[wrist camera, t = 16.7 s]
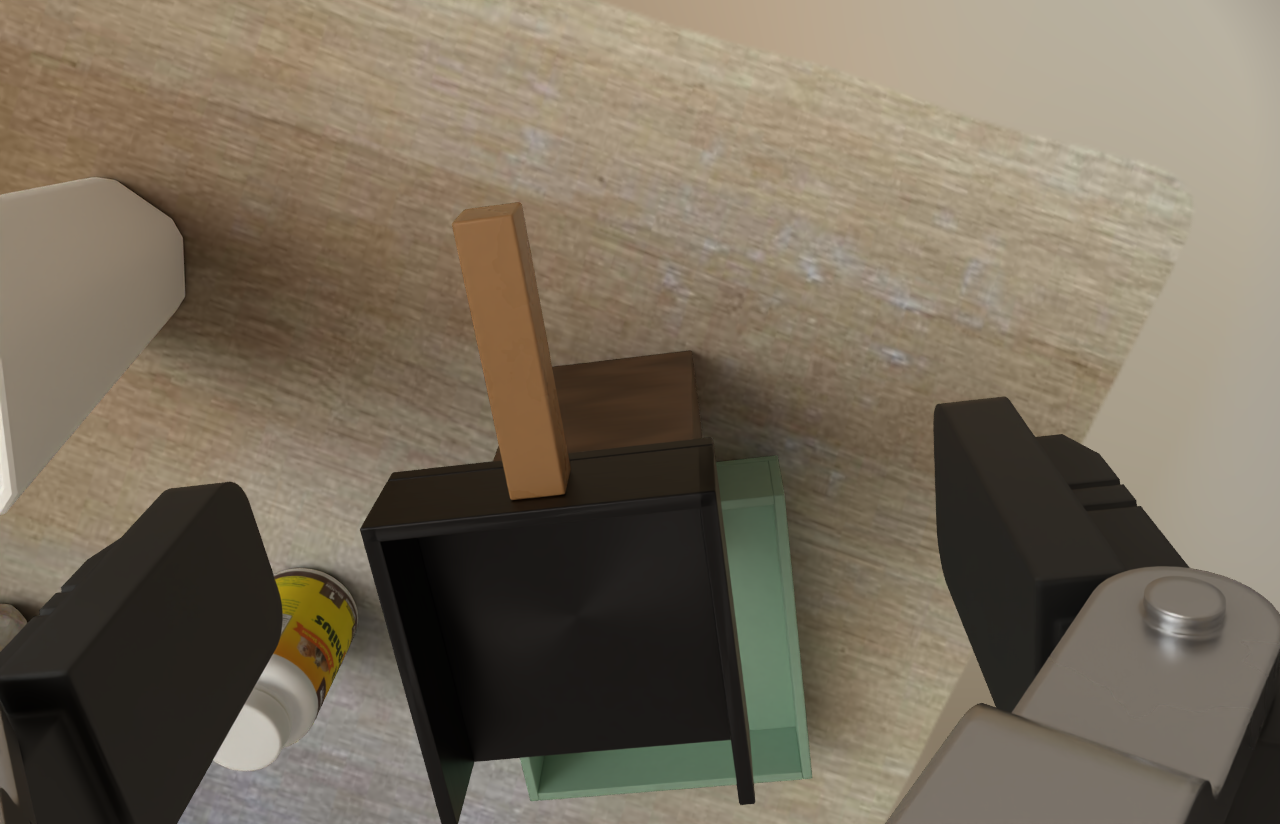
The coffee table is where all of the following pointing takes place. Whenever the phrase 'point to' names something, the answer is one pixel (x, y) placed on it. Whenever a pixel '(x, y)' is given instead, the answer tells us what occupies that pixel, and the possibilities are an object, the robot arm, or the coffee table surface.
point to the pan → (553, 568)
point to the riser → (628, 402)
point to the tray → (765, 664)
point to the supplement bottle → (293, 669)
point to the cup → (74, 309)
